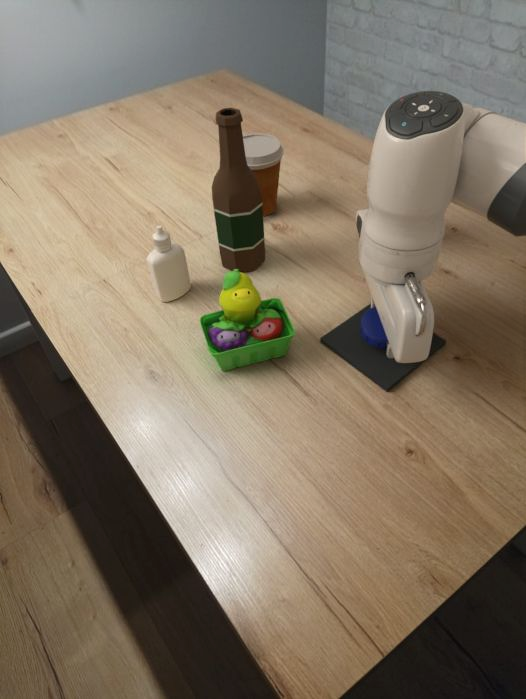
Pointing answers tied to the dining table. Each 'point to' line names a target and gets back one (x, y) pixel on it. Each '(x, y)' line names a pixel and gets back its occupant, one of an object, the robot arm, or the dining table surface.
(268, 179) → the disposable coffee cup
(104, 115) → the dining table surface
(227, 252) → the beer bottle
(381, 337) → the lid
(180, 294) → the eye dropper bottle
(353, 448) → the dining table surface
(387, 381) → the coaster
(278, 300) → the fruit basket
